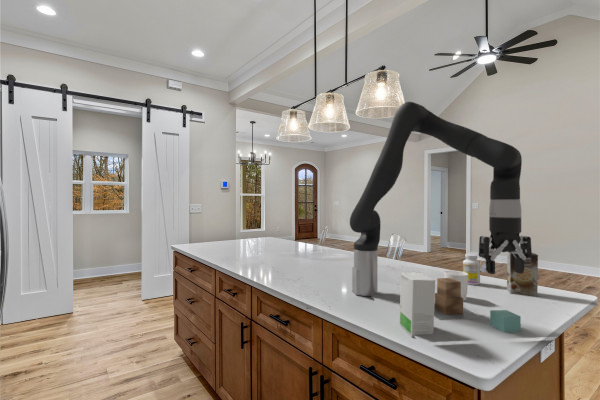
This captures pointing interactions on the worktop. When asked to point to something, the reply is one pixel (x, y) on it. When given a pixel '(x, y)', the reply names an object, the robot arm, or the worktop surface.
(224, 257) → the worktop surface
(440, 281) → the block
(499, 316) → the teal cube
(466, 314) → the pale flat pad
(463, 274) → the white cup
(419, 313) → the skincare box
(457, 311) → the tower bottom
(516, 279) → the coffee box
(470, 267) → the supplement bottle
